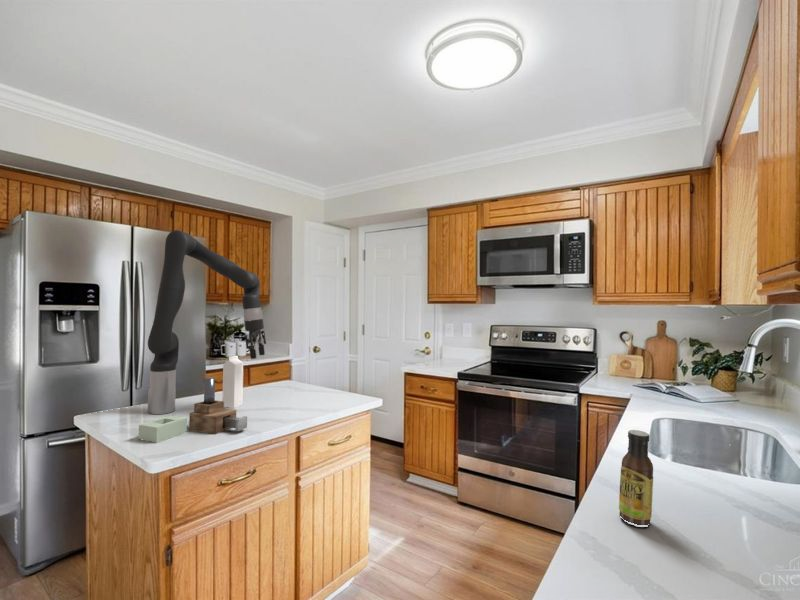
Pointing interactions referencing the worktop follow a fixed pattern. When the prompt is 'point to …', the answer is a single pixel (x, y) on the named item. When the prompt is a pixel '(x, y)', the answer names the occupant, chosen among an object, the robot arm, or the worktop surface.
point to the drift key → (235, 422)
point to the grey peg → (209, 390)
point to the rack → (162, 428)
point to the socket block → (209, 417)
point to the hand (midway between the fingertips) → (258, 356)
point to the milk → (233, 382)
